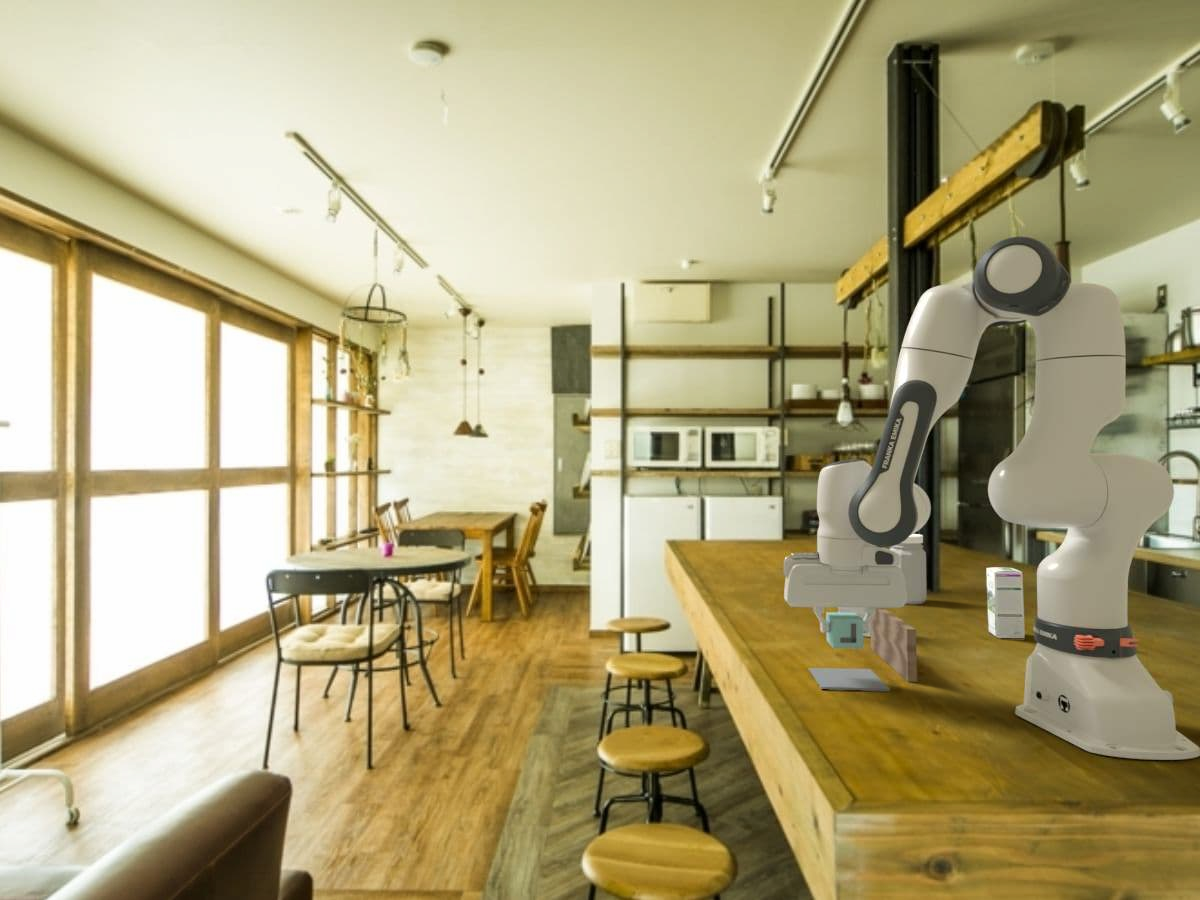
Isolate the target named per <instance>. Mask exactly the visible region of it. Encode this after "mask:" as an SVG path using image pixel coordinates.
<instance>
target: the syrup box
mask: <svg viewBox="0 0 1200 900" xmlns="http://www.w3.org/2000/svg"><path fill="white" fill-rule="evenodd" d="M985 575H986V599H987V600H986V601H987V625H988V626H987V629H988V633H989V634H991V636H993V637H995V639H996V638H997V639H1001V638H1025V637H1026V636H1025V607H1024V606H1025V604H1024V601H1025V600H1024V583H1023V582H1024V580H1023V579H1024V578H1023V571H1021V570H1019V569H1017V568H1016V569H1015V568H1013V567H1004V566H997V567H996V566H994V567H986V574H985Z"/></svg>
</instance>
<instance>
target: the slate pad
mask: <svg viewBox="0 0 1200 900" xmlns="http://www.w3.org/2000/svg"><path fill="white" fill-rule="evenodd" d="M807 669H809V671H810V672H811V674H812V675H813V677H814V678H815V680H816V681H817V683H818V684H819V686H820V687H819V686H818V687H819V689H820V690H821V689H830V690H829V691H845V690H861V691H860V692H890V689H891V688H890V687H889V686H888V685H887V684H886V683H885V682H884V681H883V680H882V679H881V678H880V677H879V676H878V675H877V674H876V673H875V672H874V671H873V670H872V669H871V668H832V667H830V668H829V667H826V668H825V667H824V668H823V667H808V668H807ZM809 671H808V672H809ZM811 674H810V675H811ZM813 677H812V678H813ZM814 678H813V679H814ZM815 680H814V681H815ZM816 681H815V682H816ZM817 683H816V684H817ZM818 684H817V685H818ZM833 689H834V690H833ZM862 690H863V691H862Z"/></svg>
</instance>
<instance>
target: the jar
mask: <svg viewBox="0 0 1200 900" xmlns="http://www.w3.org/2000/svg"><path fill="white" fill-rule="evenodd" d="M923 543H924V535H923V534H920V533H918V534H917V533H914V534H912V535H910V536H909V537H908V538H907V539H906V540H905V541H903V542H902V543H900V544H898V545H895V546H891V547H889V550H892V551H894V552H896V553H897V554H898V555H899V556H900V563H899V565H897V567H899V568H900V569H901V570H902V572H903V574H904V578H905V583H906V593H907V601H906V603H905V605H922V604H924V603H925V602H926V601H927V595H928V594H927V553H926V551H925V550H924V549H923V548H924V545H923Z"/></svg>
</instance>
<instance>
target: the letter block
mask: <svg viewBox="0 0 1200 900" xmlns="http://www.w3.org/2000/svg"><path fill="white" fill-rule="evenodd" d="M825 614H826V615H825V621H829V622H830V623H831V627H830V629H831V633H826V642H827V643H828V644H829V645H830V646H831V648H833V649H856V650H857V649H862V650H863V649H864V636H863V619H862V618H861V617H860V616H859V615H857V614H856V613H852V612H838V611H837V612H835V611H826V612H825Z"/></svg>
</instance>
